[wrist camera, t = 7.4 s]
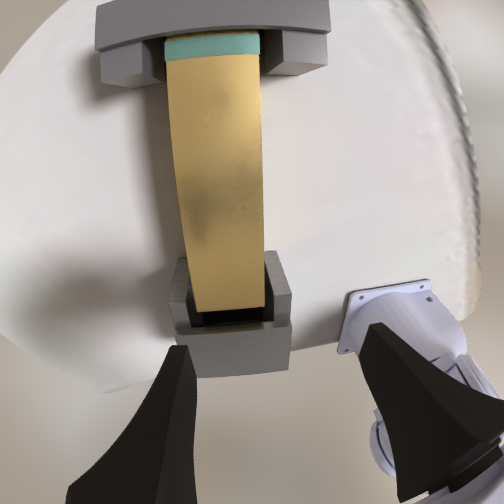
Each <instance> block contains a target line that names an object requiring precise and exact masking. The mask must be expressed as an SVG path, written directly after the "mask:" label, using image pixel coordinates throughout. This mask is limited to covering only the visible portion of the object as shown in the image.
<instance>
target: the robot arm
mask: <svg viewBox="0 0 504 504" xmlns="http://www.w3.org/2000/svg"><path fill="white" fill-rule="evenodd" d="M431 286H432V281H431V280H430V279H428V280H423V281H417V282H412V283H406V284H400V285H395V286H389V287H383V288H376V289H370V290H364V291H357V292H354V293H352V294H351V295H350V298H349V303H348V307H347V312H346V316H345V320H344V324H343V328H342V332H341V336H340V340H339V344H338V348H337V353H338V354H346V353H350V352H355V353H356V355H357V357H358V359H359V361H360V364H361V368H362V371H363V374H364V377H365V379H366V382H367V384H368V386H369V388H370V391H371V393H372V395H373V397H374V400H375V402H376V404H377V406H378V408H377V409H375V410H374V414H375V416H376V419H377V420H376V421H375V422H374V423H373V425H372V427H371V432H370V448H371V452H372V454H373V457H374V459H375V461H376V463H377V464H378V466H379V467H380V468H381V469H382V471H383V472H385V473H386V474H387V475H389V476H391V477H393V478H394V479H396V480H397V496H398V499H399V502H400V503H402V502H405V501H407V500H409V499H412V498H414V497H416V496H418V495H420V494H429V496H428V497H426V498H424V499H422V500H420V501H418V502H416V503H414V504H504V444H503V445H502V446H501V444H502V442H503V440H504V400H501V399H500V398H499V397H498V395H497V393H496V391H495V390H494V388H493V386H492V385H491V383H490V382H489V380H488V379H487V377H486V376H485V374H484V373H483V371H482V370H481V369H480V367H479V366H478V364H477V363H476V362H475V361H474V359H473V358H472V357H471V356H470V355H466V351H467V343H466V338H465V334H464V331H463V329H462V327H461V325H460V324H459V323H458V321H457V320H456V319H455V318H454V316H453V315H452V314H451V313H450V312H449V310H448V309H447V308H446V307H445V306H444V305H443V303H442V302H441V301H440V300H439V299H438V298H437V297H436V295H435V294H434V293H433V292H432V291H431V290H430V289H431ZM360 296H361V297H360ZM196 406H197V376H196V373H195V369H194V366H193V363H192V359H191V356H190V352H189V348H188V345H172V346H171V347H170V348H169V350H168V353H167V355H166V357H165V360H164V362H163V364H162V366H161V368H160V370H159V372H158V375H157V377H156V378H155V380H154V383H153V384H152V386H151V388H150V390H149V392H148V394H147V395H146V397H145V399H144V400H143V402H142V404H141V405H140V407H139V409H138V410H137V412H136V414H135V415H134V417H133V418H132V420H131V421H130V423H129V424H128V425H127V427H126V428H125V429H124V431H123V432H122V433H121V435H120V436H119V437H118V439H117V440H116V441H115V442H114V444H113V445H112V446H111V447H110V448H109V449H108V451H107V452H106V453H105V454H104V455H103V456H102V457H101V458H100V459H99V460H98V461H97V462H96V463H95V464H94V465H93V466H92V467H91V468H90V469H89V470H88V471H87V472H85V473H84V474H83V475H82V476H81V477H80V478H78V479H77V480H76V481H75V482H73V483H72V484H71V485H70V486H69V487H68V491H67V495H66V503H65V504H197V497H196V487H195V476H194V459H193V446H194V432H195V419H196ZM500 446H501V447H500Z"/></svg>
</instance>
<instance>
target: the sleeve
mask: <svg viewBox="0 0 504 504" xmlns="http://www.w3.org/2000/svg"><path fill="white" fill-rule="evenodd" d="M264 289H265V306H264V307H263V319H260V320H250V321H239V322H227V323H214V324H204V322H203V317H202V312H197V308H196V303H195V298H194V293H193V288H192V282H191V277H190V271H189V266H188V260H187V258H182V259H178V262H177V266H176V270H175V275H174V279H173V284H172V289H171V293H170V298H169V303H168V305H169V308H170V312H171V315H172V319H173V322H174V326H175V335H174V336H175V339H176V342H177V345H188V348H189V352H190V356H191V359H192V363H193V366H194V369H195V373H196V376H197V378H209V377H211V378H212V377H227V376H239V375H250V374H259V373H268V372H276V371H283V370H288V365H289V355H290V344H291V333H292V324H291V321H290V313H291V298H292V293H291V290H290V287H289V285H288V282H287V279H286V276H285V274H284V271H283V268H282V265H281V263H280V260H279V257H278V255H277V252H276V251H268V252H264Z"/></svg>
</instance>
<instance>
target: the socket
mask: <svg viewBox="0 0 504 504" xmlns="http://www.w3.org/2000/svg"><path fill="white" fill-rule="evenodd" d="M226 29H264V44H265V69H266V75H295V76H299V75H301V74H304V73H307V72H309V71H312V70H315V69H318V68H320V67H323V66H326V65H328V56H327V37H326V34H327V33H329V32H331V22H330V11H329V1H328V0H114V1H111V2H108V3H105V4H102V5H99V6H97V9H96V24H95V50H97V51H99V52H100V76H101V83H105V84H111V85H117V86H123V87H129V88H137V87H142V86H147V85H153V84H158V83H165V81H164V55H163V36H169V35H175V34H183V33H190V32H199V31H210V30H226Z"/></svg>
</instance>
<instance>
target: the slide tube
mask: <svg viewBox="0 0 504 504" xmlns="http://www.w3.org/2000/svg"><path fill="white" fill-rule="evenodd" d="M164 44H165V62H166V67H167V89H168V105H169V118H170V130H171V141H172V151H173V161H174V170H175V178H176V187H177V194H178V202H179V209H180V216H181V223H182V230H183V236H184V242H185V248H186V254H187V260H188V266H189V271H190V277H191V282H192V288H193V293H194V298H195V303H196V308H197V312H206V311H219V310H232V309H243V308H254V307H264V306H265V289H264V219H263V172H262V134H261V102H260V74H259V55H260V41H259V34H258V29H226V30H210V31H199V32H190V33H183V34H175V35H169V36H166V42H164Z"/></svg>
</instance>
